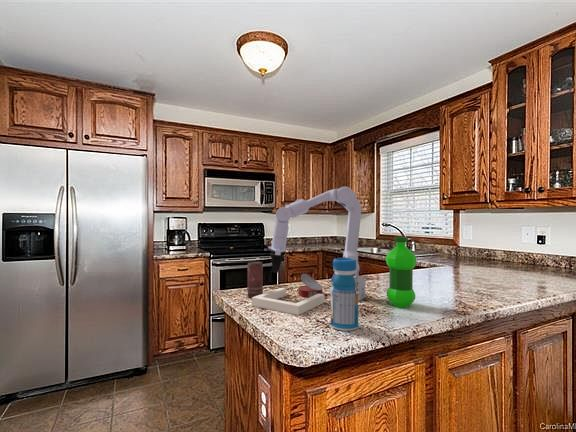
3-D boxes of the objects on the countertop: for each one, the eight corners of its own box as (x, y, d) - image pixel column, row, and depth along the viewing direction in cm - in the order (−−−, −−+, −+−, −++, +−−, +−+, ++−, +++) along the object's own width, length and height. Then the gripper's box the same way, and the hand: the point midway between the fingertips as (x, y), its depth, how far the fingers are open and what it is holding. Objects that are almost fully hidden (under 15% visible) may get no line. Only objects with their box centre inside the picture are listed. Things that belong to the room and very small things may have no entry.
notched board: (324, 302, 121) (324, 294, 121) (298, 315, 106) (298, 306, 106) (281, 294, 132) (281, 287, 132) (251, 305, 117) (251, 297, 117)
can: (260, 299, 126) (260, 263, 126) (245, 298, 127) (245, 262, 127) (265, 295, 132) (265, 261, 132) (250, 294, 133) (250, 260, 133)
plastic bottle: (403, 311, 110) (404, 238, 110) (380, 304, 119) (380, 236, 119) (422, 306, 116) (422, 237, 115) (398, 300, 124) (398, 235, 124)
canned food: (312, 302, 138) (321, 281, 140) (322, 306, 128) (331, 283, 131) (290, 292, 135) (299, 270, 137) (298, 295, 126) (308, 271, 128)
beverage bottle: (340, 333, 90) (340, 262, 90) (324, 324, 97) (324, 258, 97) (364, 329, 93) (365, 260, 93) (348, 320, 101) (348, 256, 101)
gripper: (270, 234, 136) (265, 266, 136) (269, 237, 121) (264, 272, 121) (286, 236, 136) (282, 268, 136) (288, 239, 121) (282, 275, 121)
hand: (275, 270), depth 129 cm, fingers open, 7 cm apart
